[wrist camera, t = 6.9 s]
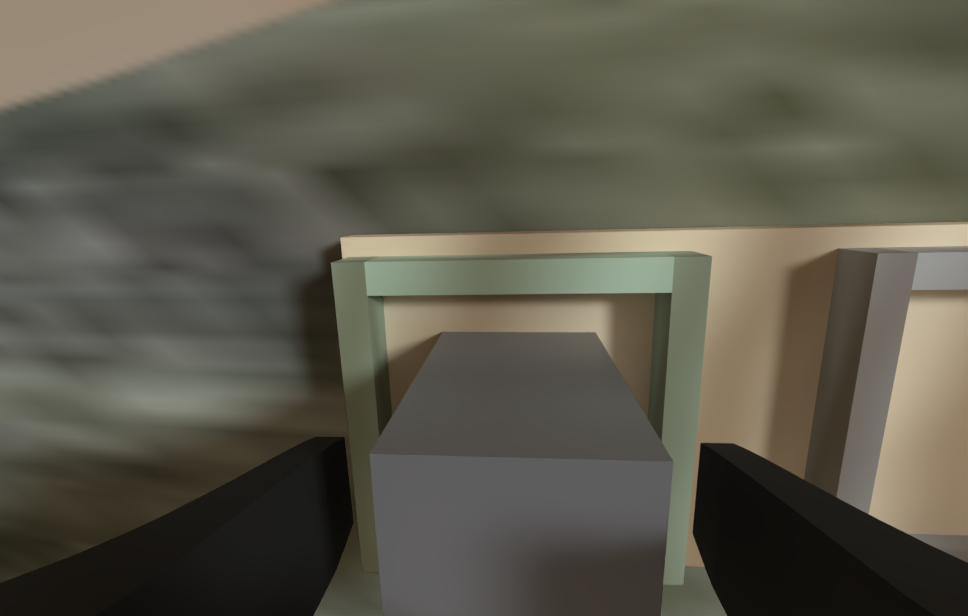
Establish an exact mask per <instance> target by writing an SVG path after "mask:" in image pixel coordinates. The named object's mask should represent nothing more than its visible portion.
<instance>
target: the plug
mask: <svg viewBox="0 0 968 616" xmlns="http://www.w3.org/2000/svg"><path fill="white" fill-rule="evenodd" d="M369 455H370V467H371V479H372V491H373V503H374V515H375V527H376V539H377V551H378V563H379V575H380V587H381V599H382V611H383V616H660V614H661V603H662V591H663V579H664V568H665V556H666V544H667V533H668V521H669V509H670V498H671V486H672V474H673V463H674V462H673V460H672V458H671V457H670V455H669V453H668V452H667V450H666V448H665V447H664V445H663V443H662V442H661V440H660V438H659V437H658V435H657V433H656V432H655V430H654V428H653V427H652V425H651V423H650V422H649V420H648V418H647V417H646V415H645V413H644V412H643V410H642V408H641V407H640V405H639V403H638V402H637V400H636V399H635V397H634V395H633V394H632V392H631V390H630V389H629V387H628V385H627V384H626V382H625V380H624V379H623V377H622V375H621V374H620V372H619V370H618V369H617V367H616V365H615V364H614V362H613V360H612V359H611V357H610V355H609V354H608V352H607V350H606V349H605V347H604V345H603V344H602V342H601V340H600V339H599V337H598V335H597V334H596V332H442V334H441V335H440V337H439V339H438V340H437V342H436V344H435V345H434V347H433V349H432V350H431V352H430V354H429V355H428V357H427V359H426V360H425V362H424V364H423V365H422V367H421V369H420V370H419V372H418V374H417V375H416V377H415V379H414V380H413V382H412V384H411V385H410V387H409V389H408V390H407V392H406V394H405V395H404V397H403V399H402V400H401V402H400V404H399V405H398V407H397V409H396V410H395V412H394V414H393V415H392V417H391V419H390V420H389V422H388V424H387V425H386V427H385V429H384V430H383V432H382V434H381V435H380V437H379V439H378V440H377V442H376V444H375V445H374V447H373V449H372V450H371V452H370V454H369Z"/></svg>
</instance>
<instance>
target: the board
mask: <svg viewBox="0 0 968 616" xmlns="http://www.w3.org/2000/svg"><path fill="white" fill-rule="evenodd" d="M340 239H341V250H342V259H341V260H338V261H335V262H331V269H332V279H333V289H334V299H335V308H336V318H337V328H338V338H339V347H340V357H341V367H342V377H343V386H344V396H345V406H346V416H347V425H348V435H349V445H350V454H351V464H352V474H353V484H354V493H355V503H356V513H357V523H358V532H359V542H360V552H361V562H362V571H363V572H367V573H379V563H378V551H377V539H376V527H375V515H374V503H373V491H372V479H371V467H370V455H369V454H370V452H371V450H372V449H373V447H374V445H375V444H376V442H377V440H378V439H379V437H380V435H381V434H382V432H383V430H384V429H385V427H386V425H387V424H388V422H389V420H390V419H391V417H392V415H393V414H394V412H395V410H396V409H397V407H398V405H399V404H400V402H401V400H402V399H403V397H404V395H405V394H406V392H407V390H408V389H409V387H410V385H411V384H412V382H413V380H414V379H415V377H416V375H417V374H418V372H419V370H420V369H421V367H422V365H423V364H424V362H425V360H426V359H427V357H428V355H429V354H430V352H431V350H432V349H433V347H434V345H435V344H436V342H437V340H438V339H439V337H440V335H441V334H442V332H596V334H597V335H598V337H599V339H600V340H601V342H602V344H603V345H604V347H605V349H606V350H607V352H608V354H609V355H610V357H611V359H612V360H613V362H614V364H615V365H616V367H617V369H618V370H619V372H620V374H621V375H622V377H623V379H624V380H625V382H626V384H627V385H628V387H629V389H630V390H631V392H632V394H633V395H634V397H635V399H636V400H637V402H638V403H639V405H640V407H641V408H642V410H643V412H644V413H645V415H646V417H647V418H648V420H649V422H650V423H651V425H652V427H653V428H654V430H655V432H656V433H657V435H658V437H659V438H660V440H661V442H662V443H663V445H664V447H665V448H666V450H667V452H668V453H669V455H670V457H671V458H672V460H673V462H674V463H673V474H672V486H671V498H670V509H669V521H668V533H667V544H666V556H665V568H664V579H663V584H667V585H683V581H684V570H685V566H700V567H705V566H704V564H703V561H702V558H701V555H700V553H699V550H698V547H697V544H696V542H695V539H694V536H693V533H692V532H693V521H694V510H695V499H696V488H697V477H698V466H699V455H700V444H701V443H734V444H736V445H738V446H741V447H743V448H745V449H747V450H749V451H751V452H753V453H755V454H757V455H759V456H761V457H763V458H765V459H767V460H769V461H771V462H773V463H774V464H776V465H778V466H780V467H782V468H784V469H785V470H787V471H789V472H791V473H793V474H795V475H796V476H798V477H800V478H802V479H804V480H805V481H807V482H809V483H811V484H813V485H815V486H816V487H818V488H820V489H822V490H824V491H826V492H828V493H829V494H831V495H833V496H835V497H837V498H839V499H840V500H842V501H844V502H846V503H848V504H850V505H852V506H854V507H856V508H857V509H859V510H861V511H863V512H865V513H867V514H869V515H871V516H873V517H875V518H877V519H879V520H881V521H883V522H885V523H887V524H889V525H891V526H893V527H895V528H897V529H899V530H901V531H903V532H905V533H907V534H909V535H911V536H913V537H915V538H917V539H919V540H921V541H923V542H925V543H927V544H929V545H931V546H933V547H935V548H937V549H939V550H942V551H944V552H946V553H948V554H950V555H952V556H954V557H957V558H959V559H961V560H963V561H965V562H967V563H968V222H934V223H888V224H842V225H795V226H749V227H703V228H657V229H611V230H565V231H519V232H473V233H427V234H380V235H352V236H346V237H341V238H340Z"/></svg>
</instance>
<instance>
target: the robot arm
mask: <svg viewBox="0 0 968 616" xmlns="http://www.w3.org/2000/svg"><path fill="white" fill-rule="evenodd" d="M352 525H353V515H352V506H351V496H350V487H349V477H348V467H347V458H346V448H345V439H344V437H315V438H312V439H310V440H307V441H305V442H303V443H301V444H299V445H297V446H295V447H293V448H291V449H289V450H287V451H285V452H283V453H282V454H280V455H278V456H276V457H274V458H272V459H271V460H269V461H267V462H265V463H263V464H261V465H260V466H258V467H256V468H254V469H252V470H250V471H249V472H247V473H245V474H243V475H241V476H239V477H238V478H236V479H234V480H232V481H230V482H228V483H227V484H225V485H223V486H221V487H219V488H217V489H215V490H213V491H211V492H209V493H207V494H205V495H203V496H201V497H199V498H197V499H195V500H193V501H191V502H189V503H187V504H186V505H184V506H182V507H180V508H178V509H176V510H174V511H172V512H170V513H168V514H166V515H164V516H162V517H160V518H158V519H156V520H153V521H151V522H149V523H147V524H145V525H143V526H141V527H138V528H136V529H134V530H132V531H130V532H127V533H125V534H123V535H121V536H118V537H116V538H114V539H111V540H109V541H107V542H104V543H102V544H100V545H97V546H95V547H93V548H90V549H88V550H86V551H83V552H81V553H78V554H76V555H73V556H71V557H69V558H66V559H63V560H61V561H58V562H55V563H53V564H50V565H47V566H45V567H42V568H39V569H37V570H34V571H31V572H29V573H26V574H23V575H21V576H18V577H15V578H13V579H10V580H7V581H5V582H2V583H0V616H313V615H314V613H315V611H316V609H317V607H318V605H319V603H320V601H321V599H322V597H323V595H324V593H325V591H326V589H327V587H328V585H329V583H330V581H331V579H332V577H333V575H334V573H335V571H336V569H337V566H338V563H339V561H340V558H341V556H342V553H343V550H344V548H345V545H346V542H347V539H348V536H349V533H350V530H351V528H352ZM692 533H693V536H694V539H695V542H696V544H697V547H698V550H699V553H700V555H701V558H702V561H703V564H704V566H705V569H706V571H707V574H708V576H709V579H710V581H711V584H712V586H713V588H714V590H715V592H716V594H717V596H718V598H719V600H720V602H721V604H722V606H723V608H724V610H725V612H726V614H727V616H968V563H967V562H965V561H963V560H961V559H959V558H957V557H954V556H952V555H950V554H948V553H946V552H944V551H942V550H939V549H937V548H935V547H933V546H931V545H929V544H927V543H925V542H923V541H921V540H919V539H917V538H915V537H913V536H911V535H909V534H907V533H905V532H903V531H901V530H899V529H897V528H895V527H893V526H891V525H889V524H887V523H885V522H883V521H881V520H879V519H877V518H875V517H873V516H871V515H869V514H867V513H865V512H863V511H861V510H859V509H857V508H856V507H854V506H852V505H850V504H848V503H846V502H844V501H842V500H840V499H839V498H837V497H835V496H833V495H831V494H829V493H828V492H826V491H824V490H822V489H820V488H818V487H816V486H815V485H813V484H811V483H809V482H807V481H805V480H804V479H802V478H800V477H798V476H796V475H795V474H793V473H791V472H789V471H787V470H785V469H784V468H782V467H780V466H778V465H776V464H774V463H773V462H771V461H769V460H767V459H765V458H763V457H761V456H759V455H757V454H755V453H753V452H751V451H749V450H747V449H745V448H743V447H741V446H738V445H736V444H734V443H701V444H700V455H699V466H698V477H697V488H696V499H695V510H694V521H693V532H692Z"/></svg>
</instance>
